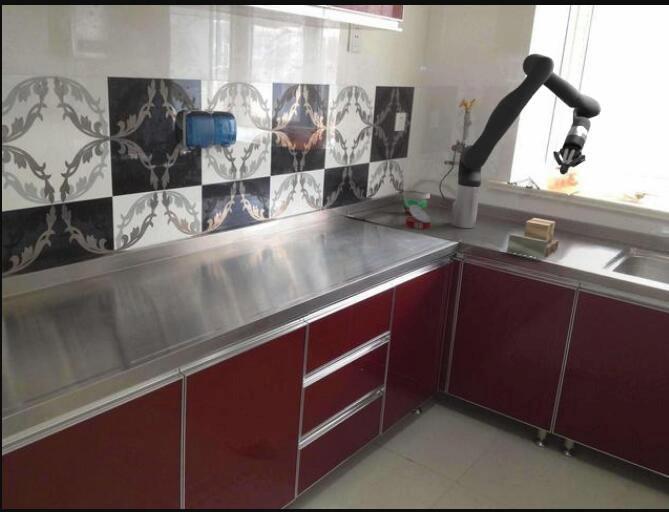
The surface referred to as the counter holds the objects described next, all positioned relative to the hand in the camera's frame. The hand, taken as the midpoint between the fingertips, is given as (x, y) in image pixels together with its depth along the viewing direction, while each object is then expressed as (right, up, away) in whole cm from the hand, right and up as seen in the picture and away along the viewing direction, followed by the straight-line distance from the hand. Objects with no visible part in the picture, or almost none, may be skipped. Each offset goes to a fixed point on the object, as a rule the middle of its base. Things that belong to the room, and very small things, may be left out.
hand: (562, 173), depth 251 cm
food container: (-54, -15, +31) cm, 64 cm away
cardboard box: (-13, -26, -11) cm, 31 cm away
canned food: (-55, -21, +10) cm, 60 cm away
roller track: (-16, -30, -14) cm, 37 cm away
